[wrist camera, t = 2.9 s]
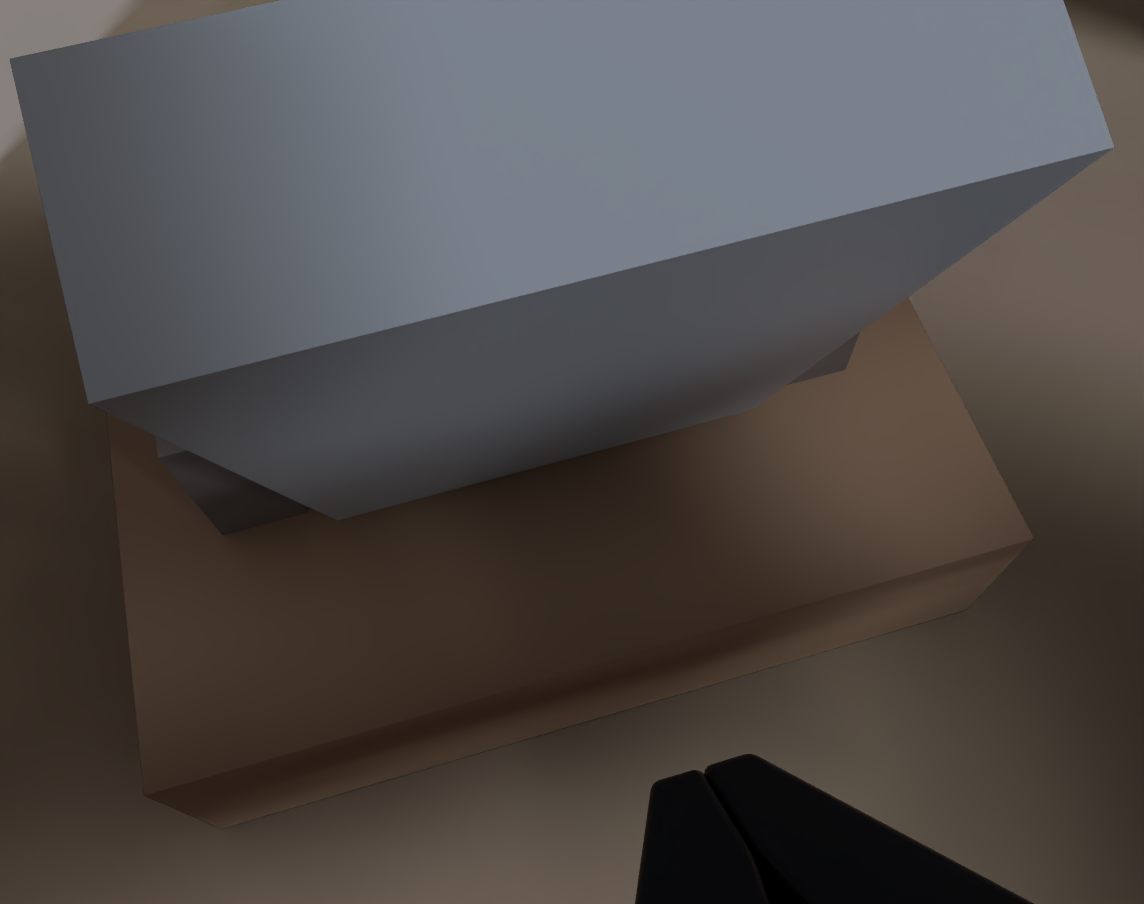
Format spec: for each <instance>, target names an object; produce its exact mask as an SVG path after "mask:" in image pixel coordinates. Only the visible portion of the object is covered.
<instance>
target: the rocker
mask: <svg viewBox="0 0 1144 904" xmlns="http://www.w3.org/2000/svg"><path fill="white" fill-rule="evenodd" d="M10 63H11V68H12V72H13V77H14V81H15V85H16V90H17V94H18V98H19V103H20V107H21V111H22V116H23V120H24V125H25V129H26V134H27V138H28V142H29V147H30V151H31V155H32V160H33V164H34V169H35V173H36V177H37V182H38V186H39V190H40V195H41V199H42V204H43V208H44V212H45V217H46V221H47V225H48V230H49V234H50V239H51V243H52V247H53V252H54V256H55V260H56V265H57V269H58V274H59V278H60V282H61V287H62V291H63V295H64V300H65V304H66V309H67V313H68V317H69V322H70V326H71V331H72V335H73V339H74V344H75V348H76V352H77V357H78V361H79V366H80V370H81V374H82V379H83V383H84V387H85V392H86V396H87V401H88V404H89V405H92V406H94V407H96V408H98V409H100V410H102V411H104V412H107V413H109V414H111V415H113V416H115V417H117V418H119V419H121V420H124V421H126V422H128V423H130V424H132V425H134V426H136V427H139V428H141V429H143V430H145V431H147V432H149V433H151V434H154V435H156V436H158V437H160V438H162V439H164V440H166V441H168V442H171V443H173V444H175V445H177V446H179V447H181V448H183V449H186V450H188V451H190V452H192V453H194V454H196V455H198V456H200V457H203V458H205V459H207V460H209V461H211V462H213V463H215V464H218V465H220V466H222V467H224V468H226V469H228V470H230V471H232V472H235V473H237V474H239V475H241V476H243V477H245V478H247V479H250V480H252V481H254V482H256V483H258V484H260V485H262V486H264V487H267V488H269V489H271V490H273V491H275V492H277V493H279V494H282V495H284V496H286V497H288V498H290V499H292V500H294V501H296V502H299V503H301V504H303V505H305V506H307V507H309V508H311V509H314V510H316V511H318V512H320V513H322V514H324V515H326V516H328V517H331V518H333V519H335V520H337V521H338V520H342V519H346V518H349V517H353V516H357V515H361V514H364V513H368V512H372V511H375V510H379V509H383V508H387V507H390V506H394V505H398V504H402V503H405V502H409V501H413V500H417V499H420V498H424V497H428V496H432V495H435V494H439V493H443V492H447V491H450V490H454V489H458V488H461V487H465V486H469V485H473V484H476V483H480V482H484V481H488V480H491V479H495V478H499V477H503V476H506V475H510V474H514V473H518V472H521V471H525V470H529V469H533V468H536V467H540V466H544V465H547V464H551V463H555V462H559V461H562V460H566V459H570V458H574V457H577V456H581V455H585V454H589V453H592V452H596V451H600V450H604V449H607V448H611V447H615V446H619V445H622V444H626V443H630V442H633V441H637V440H641V439H645V438H648V437H652V436H656V435H660V434H663V433H667V432H671V431H675V430H678V429H682V428H686V427H690V426H693V425H697V424H701V423H705V422H708V421H712V420H716V419H719V418H723V417H727V416H731V415H734V414H738V413H742V412H746V411H749V410H753V409H754V408H756V407H757V406H758V405H760V404H761V403H763V402H764V401H765V400H767V399H768V398H769V397H771V396H772V395H774V394H775V393H776V392H778V391H779V390H780V389H782V388H783V387H785V386H786V385H787V384H789V383H790V382H791V381H793V380H794V379H796V378H797V377H798V376H800V375H801V374H803V373H804V372H805V371H807V370H808V369H809V368H811V367H812V366H814V365H815V364H816V363H818V362H819V361H820V360H822V359H823V358H825V357H826V356H827V355H829V354H830V353H831V352H833V351H834V350H836V349H837V348H838V347H840V346H841V345H843V344H844V343H845V342H847V341H848V340H849V339H851V338H852V337H854V336H855V335H856V334H858V333H859V332H860V331H862V330H863V329H865V328H866V327H867V326H869V325H870V324H871V323H873V322H874V321H876V320H877V319H878V318H880V317H881V316H883V315H884V314H885V313H887V312H888V311H889V310H891V309H892V308H894V307H895V306H896V305H898V304H899V303H900V302H902V301H903V300H905V299H906V298H907V297H909V296H910V295H911V294H913V293H914V292H916V291H917V290H918V289H920V288H921V287H923V286H924V285H925V284H927V283H928V282H929V281H931V280H932V279H934V278H935V277H936V276H938V275H939V274H940V273H942V272H943V271H945V270H946V269H947V268H949V267H950V266H951V265H953V264H954V263H956V262H957V261H958V260H960V259H961V258H963V257H964V256H965V255H967V254H968V253H969V252H971V251H972V250H974V249H975V248H976V247H978V246H979V245H980V244H982V243H983V242H985V241H986V240H987V239H989V238H990V237H991V236H993V235H994V234H996V233H997V232H998V231H1000V230H1001V229H1003V228H1004V227H1005V226H1007V225H1008V224H1009V223H1011V222H1012V221H1014V220H1015V219H1016V218H1018V217H1019V216H1020V215H1022V214H1023V213H1025V212H1026V211H1027V210H1029V209H1030V208H1031V207H1033V206H1034V205H1036V204H1037V203H1038V202H1040V201H1041V200H1043V199H1044V198H1045V197H1047V196H1048V195H1049V194H1051V193H1052V192H1054V191H1055V190H1056V189H1058V188H1059V187H1060V186H1062V185H1063V184H1065V183H1066V182H1067V181H1069V180H1070V179H1071V178H1073V177H1074V176H1076V175H1077V174H1078V173H1080V172H1081V171H1083V170H1084V169H1085V168H1087V167H1088V166H1089V165H1091V164H1092V163H1094V162H1095V161H1096V160H1098V159H1099V158H1100V157H1102V156H1103V155H1105V154H1106V153H1107V152H1109V151H1110V150H1111V149H1113V148H1114V145H1113V142H1112V139H1111V136H1110V133H1109V130H1108V127H1107V125H1106V122H1105V119H1104V116H1103V113H1102V110H1101V107H1100V104H1099V102H1098V99H1097V96H1096V93H1095V90H1094V87H1093V84H1092V81H1091V79H1090V76H1089V73H1088V70H1087V67H1086V64H1085V61H1084V59H1083V56H1082V53H1081V50H1080V47H1079V44H1078V41H1077V38H1076V36H1075V33H1074V30H1073V27H1072V24H1071V21H1070V18H1069V15H1068V13H1067V10H1066V7H1065V4H1064V1H1063V0H280V1H276V2H271V3H266V4H262V5H257V6H252V7H248V8H243V9H239V10H234V11H229V12H225V13H220V14H215V15H211V16H206V17H201V18H197V19H192V20H188V21H183V22H178V23H174V24H169V25H164V26H160V27H155V28H150V29H146V30H141V31H137V32H132V33H127V34H123V35H118V36H113V37H109V38H104V39H99V40H95V41H90V42H86V43H81V44H76V45H72V46H67V47H63V48H58V49H53V50H48V51H44V52H40V53H35V54H30V55H25V56H21V57H17V58H12V59H10Z"/></svg>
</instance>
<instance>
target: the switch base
mask: <svg viewBox="0 0 1144 904" xmlns="http://www.w3.org/2000/svg"><path fill="white" fill-rule="evenodd" d="M106 418H107V428H108V438H109V448H110V458H111V468H112V479H113V489H114V499H115V509H116V519H117V529H118V539H119V549H120V560H121V570H122V580H123V590H124V600H125V610H126V620H127V631H128V641H129V651H130V661H131V671H132V681H133V691H134V702H135V712H136V722H137V732H138V742H139V752H140V762H141V772H142V783H143V793H144V796H146V797H148V798H151V799H153V800H155V801H158V802H160V803H162V804H165V805H167V806H169V807H171V808H174V809H176V810H178V811H181V812H183V813H185V814H188V815H190V816H192V817H195V818H197V819H199V820H202V821H204V822H206V823H208V824H211V825H213V826H215V827H218V828H220V829H223V828H226V827H229V826H233V825H236V824H240V823H243V822H246V821H250V820H253V819H257V818H260V817H263V816H267V815H270V814H274V813H277V812H280V811H284V810H287V809H291V808H294V807H297V806H301V805H304V804H308V803H311V802H314V801H318V800H321V799H325V798H328V797H331V796H335V795H338V794H342V793H345V792H348V791H352V790H355V789H359V788H362V787H365V786H369V785H372V784H376V783H379V782H382V781H386V780H389V779H393V778H396V777H399V776H403V775H406V774H410V773H413V772H416V771H420V770H423V769H427V768H430V767H433V766H437V765H440V764H444V763H447V762H450V761H454V760H457V759H461V758H464V757H467V756H471V755H474V754H478V753H481V752H484V751H488V750H491V749H495V748H498V747H501V746H505V745H508V744H512V743H515V742H518V741H522V740H525V739H529V738H532V737H535V736H539V735H542V734H546V733H549V732H552V731H556V730H559V729H563V728H566V727H569V726H573V725H576V724H580V723H583V722H586V721H590V720H593V719H597V718H600V717H603V716H607V715H610V714H614V713H617V712H620V711H624V710H627V709H631V708H634V707H638V706H641V705H644V704H648V703H651V702H655V701H658V700H661V699H665V698H668V697H672V696H675V695H678V694H682V693H685V692H689V691H692V690H695V689H699V688H702V687H706V686H709V685H712V684H716V683H719V682H723V681H726V680H729V679H733V678H736V677H740V676H743V675H746V674H750V673H753V672H757V671H760V670H763V669H767V668H770V667H774V666H777V665H780V664H784V663H787V662H791V661H794V660H797V659H801V658H804V657H808V656H811V655H814V654H818V653H821V652H825V651H828V650H831V649H835V648H838V647H842V646H845V645H848V644H852V643H855V642H859V641H862V640H865V639H869V638H872V637H876V636H879V635H882V634H886V633H889V632H893V631H896V630H899V629H903V628H906V627H910V626H913V625H916V624H920V623H923V622H927V621H930V620H933V619H937V618H940V617H944V616H947V615H950V614H954V613H957V612H961V611H964V610H967V609H968V608H969V607H970V606H971V605H972V604H973V603H974V602H975V600H976V599H977V598H978V597H979V596H980V595H981V594H982V593H983V592H984V591H985V590H986V589H987V588H988V587H989V586H990V585H991V584H992V583H993V581H994V580H995V579H996V578H997V577H998V576H999V575H1000V574H1001V573H1002V572H1003V571H1004V570H1005V569H1006V568H1007V567H1008V566H1009V565H1010V563H1011V562H1012V561H1013V560H1014V559H1015V558H1016V557H1017V556H1018V555H1019V554H1020V553H1021V552H1022V551H1023V550H1024V549H1025V548H1026V547H1027V546H1028V544H1029V543H1030V542H1031V541H1032V540H1033V539H1034V537H1033V535H1032V533H1031V531H1030V530H1029V528H1028V526H1027V524H1026V522H1025V520H1024V518H1023V516H1022V514H1021V512H1020V510H1019V509H1018V507H1017V505H1016V503H1015V501H1014V499H1013V497H1012V495H1011V493H1010V491H1009V489H1008V487H1007V486H1006V484H1005V482H1004V480H1003V478H1002V476H1001V474H1000V472H999V470H998V468H997V466H996V465H995V463H994V461H993V459H992V457H991V455H990V453H989V451H988V449H987V447H986V445H985V444H984V442H983V440H982V438H981V436H980V434H979V432H978V430H977V428H976V426H975V424H974V422H973V421H972V419H971V417H970V415H969V413H968V411H967V409H966V407H965V405H964V403H963V401H962V400H961V398H960V396H959V394H958V392H957V390H956V388H955V386H954V384H953V382H952V380H951V378H950V377H949V375H948V373H947V371H946V369H945V367H944V365H943V363H942V361H941V359H940V357H939V356H938V354H937V352H936V350H935V348H934V346H933V344H932V342H931V340H930V338H929V336H928V334H927V333H926V331H925V329H924V327H923V325H922V323H921V321H920V319H919V317H918V315H917V313H916V312H915V310H914V308H913V306H912V304H911V302H910V300H909V298H908V297H907V298H906V299H905V300H903V301H902V302H900V303H899V304H898V305H896V306H895V307H894V308H892V309H891V310H889V311H888V312H887V313H885V314H884V315H883V316H881V317H880V318H878V319H877V320H876V321H874V322H873V323H871V324H870V325H869V326H867V327H866V328H865V329H863V330H862V331H860V332H859V333H858V334H856V335H855V336H854V337H852V338H851V339H849V340H848V341H847V342H845V343H844V344H843V345H841V346H840V347H838V348H837V349H836V350H834V351H833V352H831V353H830V354H829V355H827V356H826V357H825V358H823V359H822V360H820V361H819V362H818V363H816V364H815V365H814V366H812V367H811V368H809V369H808V370H807V371H805V372H804V373H803V374H801V375H800V376H798V377H797V378H796V379H794V380H793V381H791V382H790V383H789V384H787V385H786V386H785V387H783V388H782V389H780V390H779V391H778V392H776V393H775V394H774V395H772V396H771V397H769V398H768V399H767V400H765V401H764V402H763V403H761V404H760V405H758V406H757V407H756V408H754V409H753V410H749V411H746V412H742V413H738V414H734V415H731V416H727V417H723V418H719V419H716V420H712V421H708V422H705V423H701V424H697V425H693V426H690V427H686V428H682V429H678V430H675V431H671V432H667V433H663V434H660V435H656V436H652V437H648V438H645V439H641V440H637V441H633V442H630V443H626V444H622V445H619V446H615V447H611V448H607V449H604V450H600V451H596V452H592V453H589V454H585V455H581V456H577V457H574V458H570V459H566V460H562V461H559V462H555V463H551V464H547V465H544V466H540V467H536V468H533V469H529V470H525V471H521V472H518V473H514V474H510V475H506V476H503V477H499V478H495V479H491V480H488V481H484V482H480V483H476V484H473V485H469V486H465V487H461V488H458V489H454V490H450V491H447V492H443V493H439V494H435V495H432V496H428V497H424V498H420V499H417V500H413V501H409V502H405V503H402V504H398V505H394V506H390V507H387V508H383V509H379V510H375V511H372V512H368V513H364V514H361V515H357V516H353V517H349V518H346V519H342V520H338V521H337V520H335V519H333V518H331V517H328V516H326V515H324V514H322V513H320V512H318V511H316V510H314V509H311V508H309V507H307V506H305V505H303V504H301V503H299V502H296V501H294V500H292V499H290V498H288V497H286V496H284V495H282V494H279V493H277V492H275V491H273V490H271V489H269V488H267V487H264V486H262V485H260V484H258V483H256V482H254V481H252V480H250V479H247V478H245V477H243V476H241V475H239V474H237V473H235V472H232V471H230V470H228V469H226V468H224V467H222V466H220V465H218V464H215V463H213V462H211V461H209V460H207V459H205V458H203V457H200V456H198V455H196V454H194V453H192V452H190V451H188V450H186V449H183V448H181V447H179V446H177V445H175V444H173V443H171V442H168V441H166V440H164V439H162V438H160V437H158V436H156V435H154V434H151V433H149V432H147V431H145V430H143V429H141V428H139V427H136V426H134V425H132V424H130V423H128V422H126V421H124V420H121V419H119V418H117V417H115V416H113V415H111V414H109V413H107V412H106Z"/></svg>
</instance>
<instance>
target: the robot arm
mask: <svg viewBox="0 0 1144 904" xmlns="http://www.w3.org/2000/svg"><path fill="white" fill-rule="evenodd" d="M635 904H1033V903H1032V902H1030V901H1028V900H1026V899H1024V898H1022V897H1020V896H1018V895H1017V894H1015V893H1013V892H1011V891H1009V890H1007V889H1005V888H1003V887H1002V886H1000V885H998V884H996V883H994V882H992V881H990V880H989V879H987V878H985V877H983V876H981V875H979V874H977V873H975V872H974V871H972V870H970V869H968V868H966V867H964V866H962V865H960V864H959V863H957V862H955V861H953V860H951V859H949V858H947V857H945V856H944V855H942V854H940V853H938V852H936V851H934V850H932V849H930V848H929V847H927V846H925V845H923V844H921V843H919V842H917V841H916V840H914V839H912V838H910V837H908V836H906V835H904V834H902V833H901V832H899V831H897V830H895V829H893V828H891V827H889V826H887V825H886V824H884V823H882V822H880V821H878V820H876V819H874V818H872V817H871V816H869V815H867V814H865V813H863V812H861V811H859V810H858V809H856V808H854V807H852V806H850V805H848V804H846V803H844V802H843V801H841V800H839V799H837V798H835V797H833V796H831V795H829V794H828V793H826V792H824V791H822V790H820V789H818V788H816V787H814V786H813V785H811V784H809V783H807V782H805V781H803V780H801V779H799V778H798V777H796V776H794V775H792V774H790V773H788V772H786V771H785V770H783V769H781V768H779V767H777V766H775V765H773V764H771V763H770V762H768V761H766V760H764V759H762V758H760V757H758V756H756V755H753V754H745V755H741V756H738V757H735V758H731V759H728V760H725V761H722V762H718V763H715V764H712V765H709V766H708V767H707V768H706V769H705V773H704V774H703V773H702V772H700V771H697V770H692V771H689V772H685V773H682V774H679V775H675V776H672V777H668V778H665V779H662V780H659V781H657V782H655V783H654V784H653V786H652V788H651V792H650V799H649V806H648V813H647V821H646V828H645V835H644V842H643V850H642V857H641V864H640V871H639V878H638V886H637V893H636V900H635Z"/></svg>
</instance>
